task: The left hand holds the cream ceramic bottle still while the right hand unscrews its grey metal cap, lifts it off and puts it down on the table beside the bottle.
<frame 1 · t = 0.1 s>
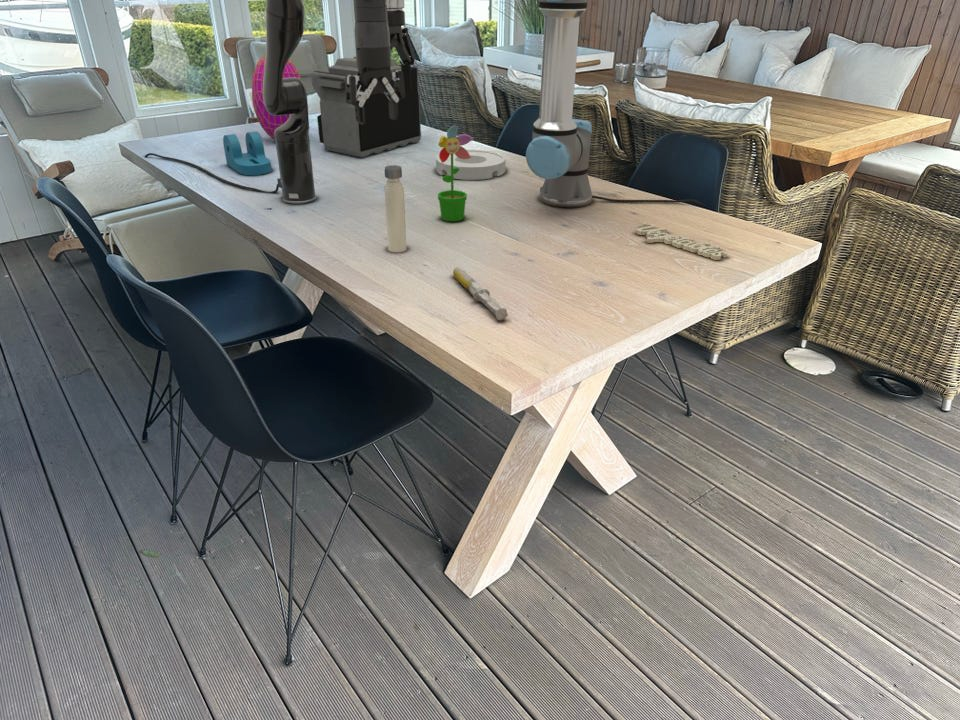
left hand: (377, 121, 157), 29 cm above the table, tool pointing down, fingers open, 8 cm apart
right hand: (394, 92, 197), 28 cm above the table, tool pointing down, fingers open, 13 cm apart
decorative sign: (676, 244, 173), on the table
potted flower: (453, 218, 188), on the table
decorative egg: (284, 140, 265), on the table
bottle: (397, 249, 168), on the table
cap: (393, 168, 158), point 20 cm above the table, screwed on, not yet turned
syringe: (478, 297, 145), on the table
camera mount: (251, 168, 229), on the table
ashtray: (470, 170, 230), on the table
electronic device: (371, 146, 258), on the table
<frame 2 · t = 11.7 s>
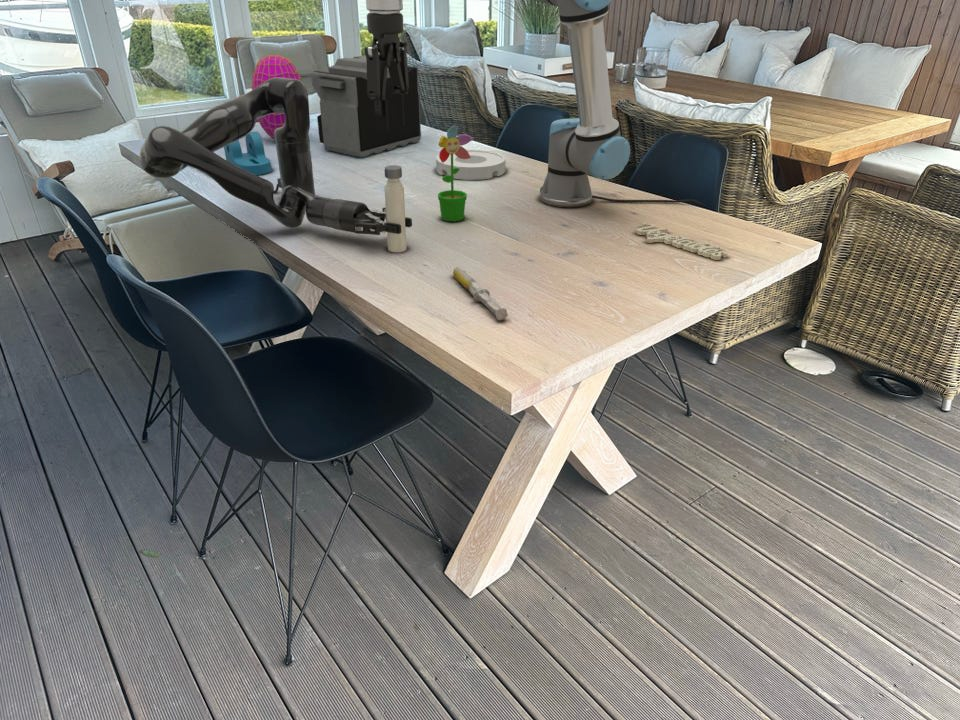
left hand: (405, 226, 164), 6 cm above the table, tool horizontal, fingers closed on bottle, 4 cm apart
right hand: (390, 127, 154), 29 cm above the table, tool pointing down, fingers open, 6 cm apart
bottle: (397, 249, 168), on the table, touching left hand
everything else where it was.
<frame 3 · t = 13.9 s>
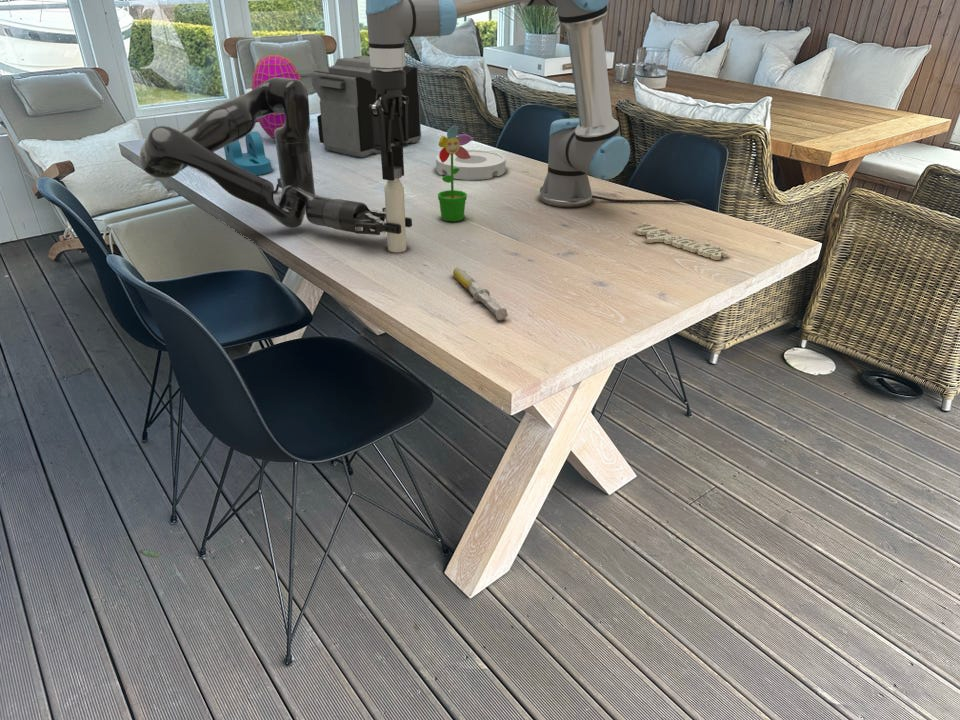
left hand: (405, 226, 164), 6 cm above the table, tool horizontal, fingers closed on bottle, 4 cm apart
right hand: (393, 177, 159), 18 cm above the table, tool pointing down, fingers closed on cap, 4 cm apart
bottle: (397, 249, 168), on the table, touching left hand
cap: (393, 168, 158), point 20 cm above the table, screwed on, not yet turned, touching right hand
everything else where it was.
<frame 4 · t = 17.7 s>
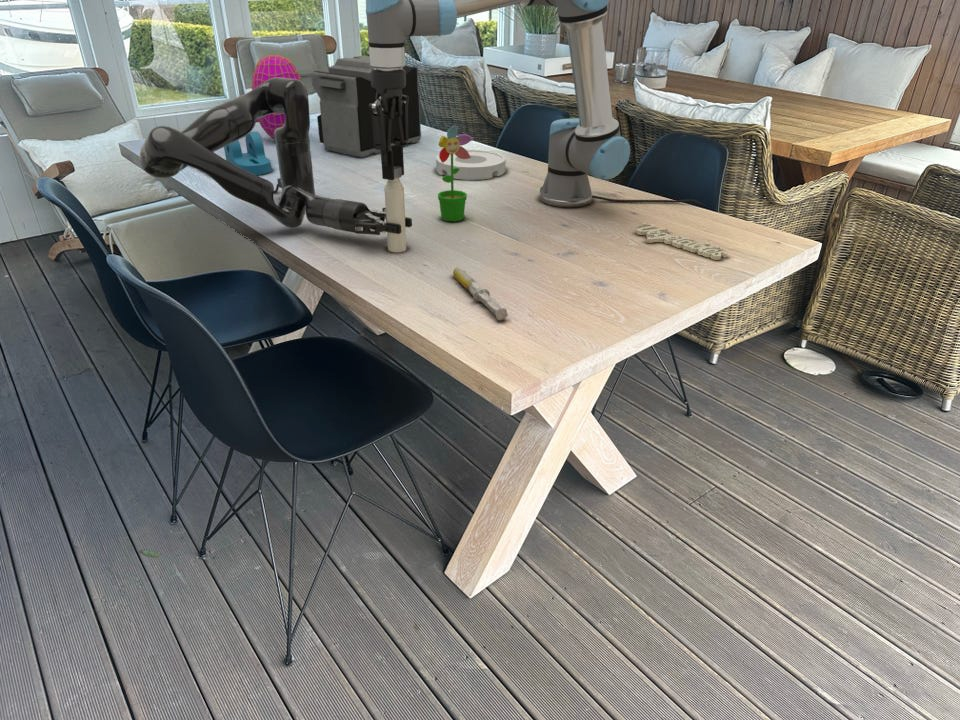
left hand: (405, 226, 164), 6 cm above the table, tool horizontal, fingers closed on bottle, 4 cm apart
right hand: (393, 176, 159), 18 cm above the table, tool pointing down, fingers closed on cap, 4 cm apart
bottle: (397, 249, 168), on the table, touching left hand
cap: (393, 168, 158), point 20 cm above the table, turned 136° so far, risen 0.1 cm, still on its thread, touching right hand
everything else where it was.
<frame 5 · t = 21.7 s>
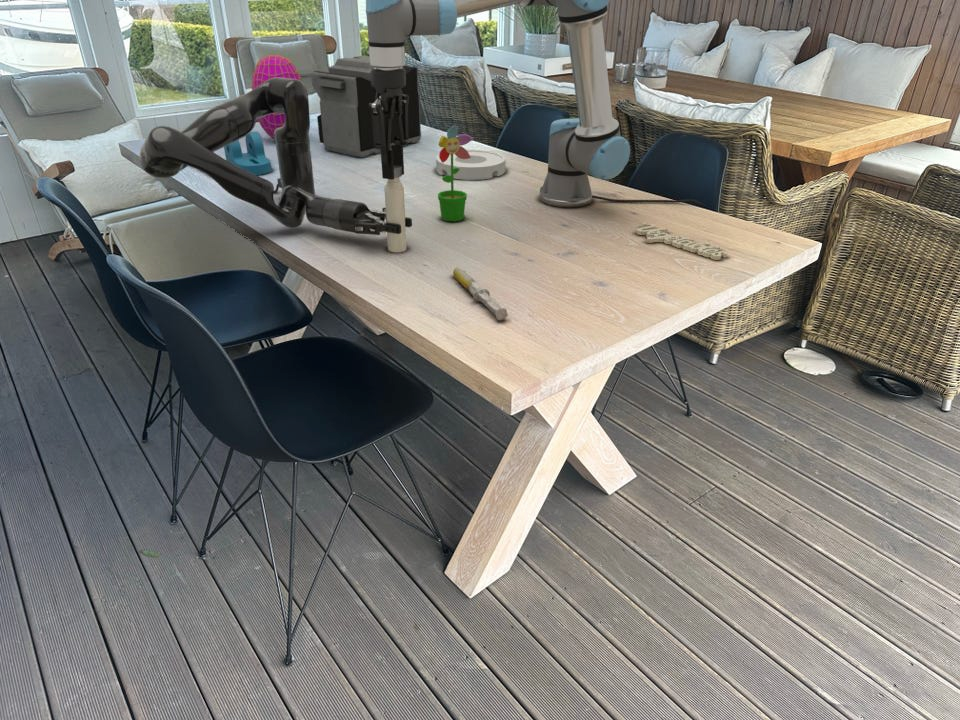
left hand: (405, 226, 164), 6 cm above the table, tool horizontal, fingers closed on bottle, 4 cm apart
right hand: (393, 176, 159), 18 cm above the table, tool pointing down, fingers closed on cap, 4 cm apart
bottle: (397, 249, 168), on the table, touching left hand
cap: (393, 167, 158), point 20 cm above the table, turned 272° so far, risen 0.2 cm, still on its thread, touching right hand
everything else where it was.
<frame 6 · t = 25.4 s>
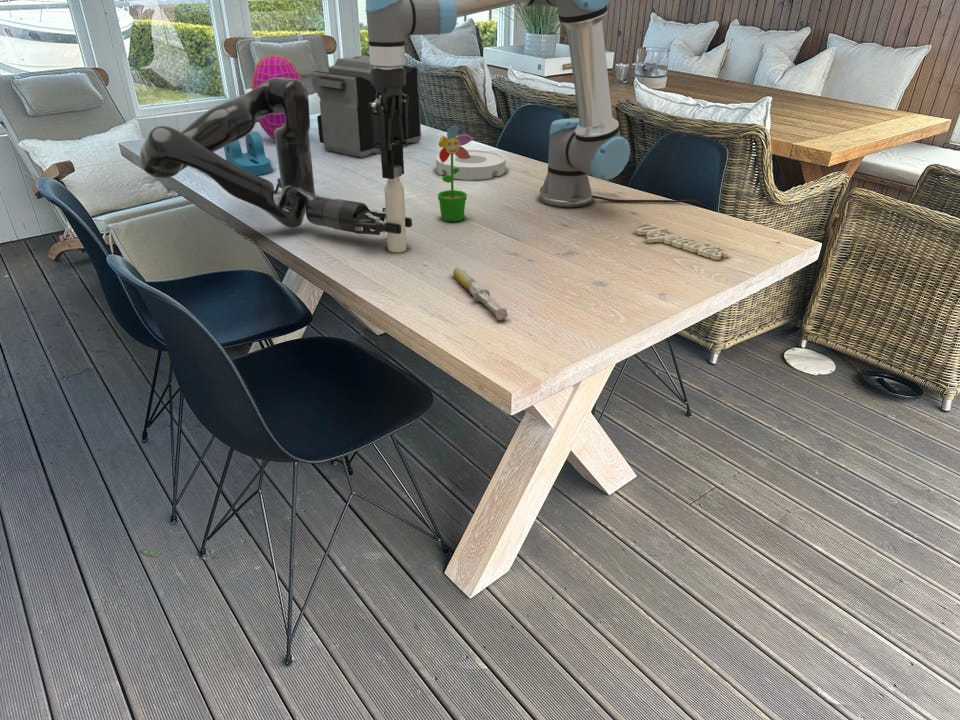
left hand: (405, 226, 164), 6 cm above the table, tool horizontal, fingers closed on bottle, 4 cm apart
right hand: (393, 175, 159), 18 cm above the table, tool pointing down, fingers closed on cap, 4 cm apart
bottle: (397, 249, 168), on the table, touching left hand
cap: (393, 167, 158), point 20 cm above the table, turned 408° so far, risen 0.3 cm, still on its thread, touching right hand
everything else where it was.
when the right hand's fingers open (1 cm above the table, at t = 32.3 s): cap drops 2 cm, point 2 cm above the table.
when the left hand's fingers open (6 cm above the table, at t = 33.6 s): bottle stays where it is, on the table.
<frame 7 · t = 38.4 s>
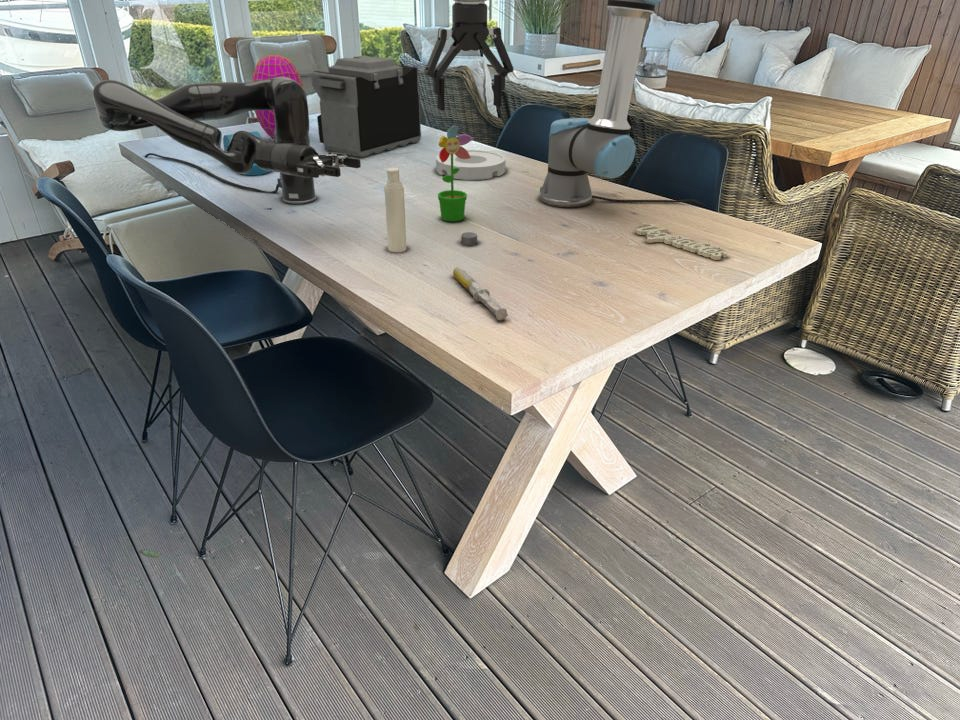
left hand: (349, 167, 163), 18 cm above the table, tool horizontal, fingers open, 8 cm apart
right hand: (469, 107, 156), 32 cm above the table, tool pointing down, fingers open, 13 cm apart
bottle: (397, 249, 168), on the table
cap: (469, 235, 171), point 2 cm above the table, off its thread
everything else where it was.
at the end: cap came off its thread; cap point 1.8 cm above the table; the left hand is holding nothing; the right hand is holding nothing; bottle tilted 0°; bottle moved 0.0 cm from its start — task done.
